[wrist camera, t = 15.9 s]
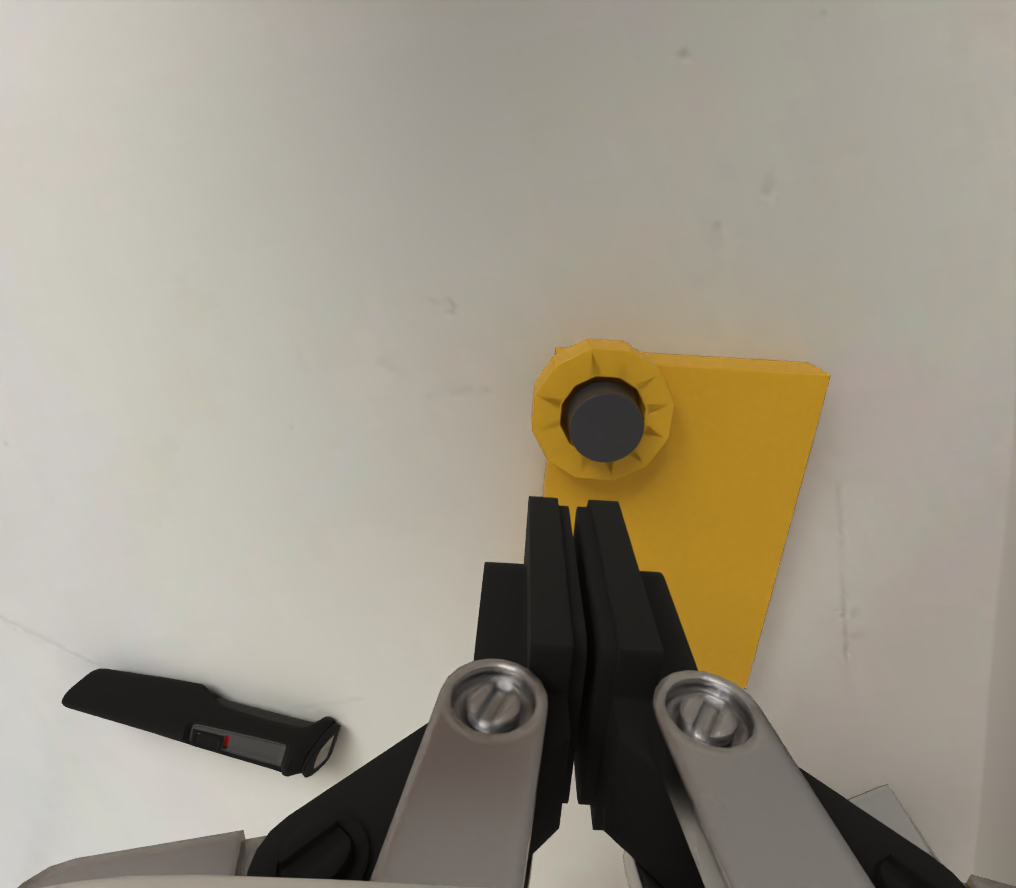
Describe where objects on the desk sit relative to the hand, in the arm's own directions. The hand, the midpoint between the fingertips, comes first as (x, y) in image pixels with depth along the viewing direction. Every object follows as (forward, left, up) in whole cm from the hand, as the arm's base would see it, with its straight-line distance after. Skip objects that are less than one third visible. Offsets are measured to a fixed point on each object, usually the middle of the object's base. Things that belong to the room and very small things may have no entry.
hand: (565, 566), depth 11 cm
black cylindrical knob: (+2, +3, -15) cm, 15 cm away
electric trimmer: (+24, -18, -18) cm, 35 cm away
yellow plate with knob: (+9, +7, -18) cm, 21 cm away
